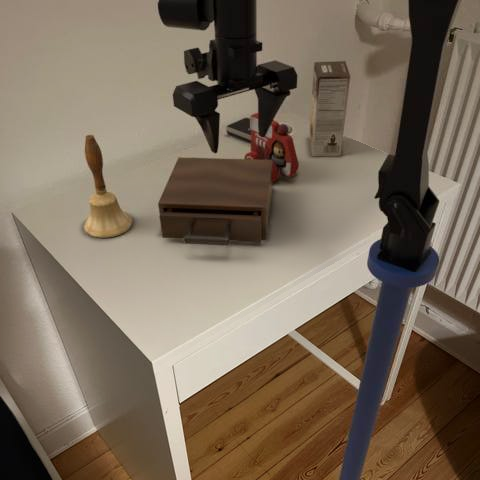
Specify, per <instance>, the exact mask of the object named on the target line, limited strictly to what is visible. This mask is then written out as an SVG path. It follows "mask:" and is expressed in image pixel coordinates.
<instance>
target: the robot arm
mask: <svg viewBox="0 0 480 480" xmlns="http://www.w3.org/2000/svg"><path fill="white" fill-rule="evenodd" d="M462 1H463V0H408V21H409V27H410V36H411V47H410V52H409V53H410V54H409V61H408V66H407V74H406V80H405V87H404V93H403V101H402V107H401V114H400V121H399V127H398V134H397V142H396V148H395V154H391V153H388V154H387V156H386V157H385V159H384V161H383V163H382V164H381V166H380V168H379V170H378V173H377V181H378V187H377V192H376V193H375V195H374V200H377V199H378V208H379V210H380V212H382V214H384V216H386V220H387V223H386V224H385V225H384V226H383V227H382V231H381V237H380V239H381V241H380V246H379V248H380V249H381V251H380V252H379V253H378V255H377V259H379V260H382V261H384V262H387V263H390V264H393V265H395V266H398V267H401V268H404V269H406V270H409V271H412V272H416V271H417V270H418V269H419V268H420V266H421V265H422V264H423V263H424V261H425V260H426V259H427V257H428V256H429V255H430V253H431V250H430V249H429V247H430V246H431V243H432V239H433V235H434V233H435V228H436V225H437V223H436V222H434V219H435V216H436V214H437V210H438V208H439V204H440V199H439V198H438V196H437V195H436V194H435V192H434V191H433V190H432V188H431V187H430V186H429V185H430V163H429V155H428V143H429V139H430V132H431V127H432V122H433V117H434V112H435V106H436V101H437V97H438V91H439V87H440V81H441V75H442V70H443V65H444V59H445V54H446V50H447V49H446V48H447V43H448V38H449V35H450V32H451V30H452V28H453V24H454V23H455V19H456V17H457V14H458V11H459V8H460V7H461V3H462ZM257 9H258V7H257V0H158V2H157V10H158V15H159V18H160V20H161V23H162V24H163V25H164V26H165V27H167V28H174V29H182V30H195V31H206V30H207V29H208V28H209V27H210V25H211V24H212V23H213V28H214V39H210V40H209V43H208V48H209V49H208V51H207V52H203V53H202V52H201V49H200V48H199V47H193V48H189V49H185V50H183V64H184V69H185V71H186V73H187V74H188V75H193V74H196V75H197V79H198V80H201V79H204V78H205V77H206V76H207V79H208V80H209V81H211V82H215V81H216V84H213V85H210V86H209V85H206V84H204V83H203V82H200V81H198V80H194V81H190V82H186V83H183V84H182V83H181V84H179V85H176V86H175V88H174V89H173V92H172V102H173V103H172V104H173V107H174V108H176V109H178V110H180V111H182V112H184V114H187V115H188V116H190V117H192V118H195V120H196V121H197V123H198V124H199V127H200V128H201V131H202V133H203V135H204V137H205V140H206V142H207V144H208V147H209V149H210V151H211V152H212V153H214V154H218V150H219V144H220V143H219V142H220V123H221V113H220V112H218V111H216V110H217V108H218V106H219V100H222V99H225V98H228V97H232V96H235V95H239V94H243V93H246V92H250V91H253V90H254V93H255V95H256V98H257V113H258V130H259V136H261V137H265V135H266V133H267V131H268V129H269V127H270V125H271V123H272V121H273V120H275V117H276V116H277V114H278V112H279V111H280V108H281V107H282V105H283V104H284V101H286V99H287V97H289V96H291V93H292V91H291V90H295V89H298V73H297V71H296V68H295V67H294V66H292V65H289V64H287V63H284V62H281V61H278V60H272V61H268V62H267V61H266V62H262V63H259V64H257V63H258V59H257V55H258V53H259V52H262V51H263V42H262V41H259V40H258V39H257V37H258V35H257V34H258V33H257V32H258V30H257V28H258V27H257V22H258V21H257V13H258V12H257Z"/></svg>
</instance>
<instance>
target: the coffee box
mask: <svg viewBox="0 0 480 480" xmlns="http://www.w3.org/2000/svg"><path fill="white" fill-rule="evenodd" d="M312 79H313V80H312V91H311V94H312V95H311V105H310V121H309V135H308V136H309V137H308V138H309V145H310V152H311V156H312V157H341V156H342V148H343V138H344V132H345V123H346V114H347V106H348V99H349V91H350V83H351V74H350V71H349V68H348V64H347V62H346V60H337V61H336V60H335V61H315V62H314V63H313V78H312Z"/></svg>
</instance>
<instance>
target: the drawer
mask: <svg viewBox="0 0 480 480" xmlns="http://www.w3.org/2000/svg"><path fill="white" fill-rule="evenodd" d="M159 223H160V229H161V235H162V238H163V239H177V240H178V239H179V240H180V239H181V240H183V244H185V245H202V246H203V245H205V246H227V247H229V246H230V242H250V243H262V240H263V239H262V216H261V211H237V210H211V209H185V208H167V212H161V213H159Z"/></svg>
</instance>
